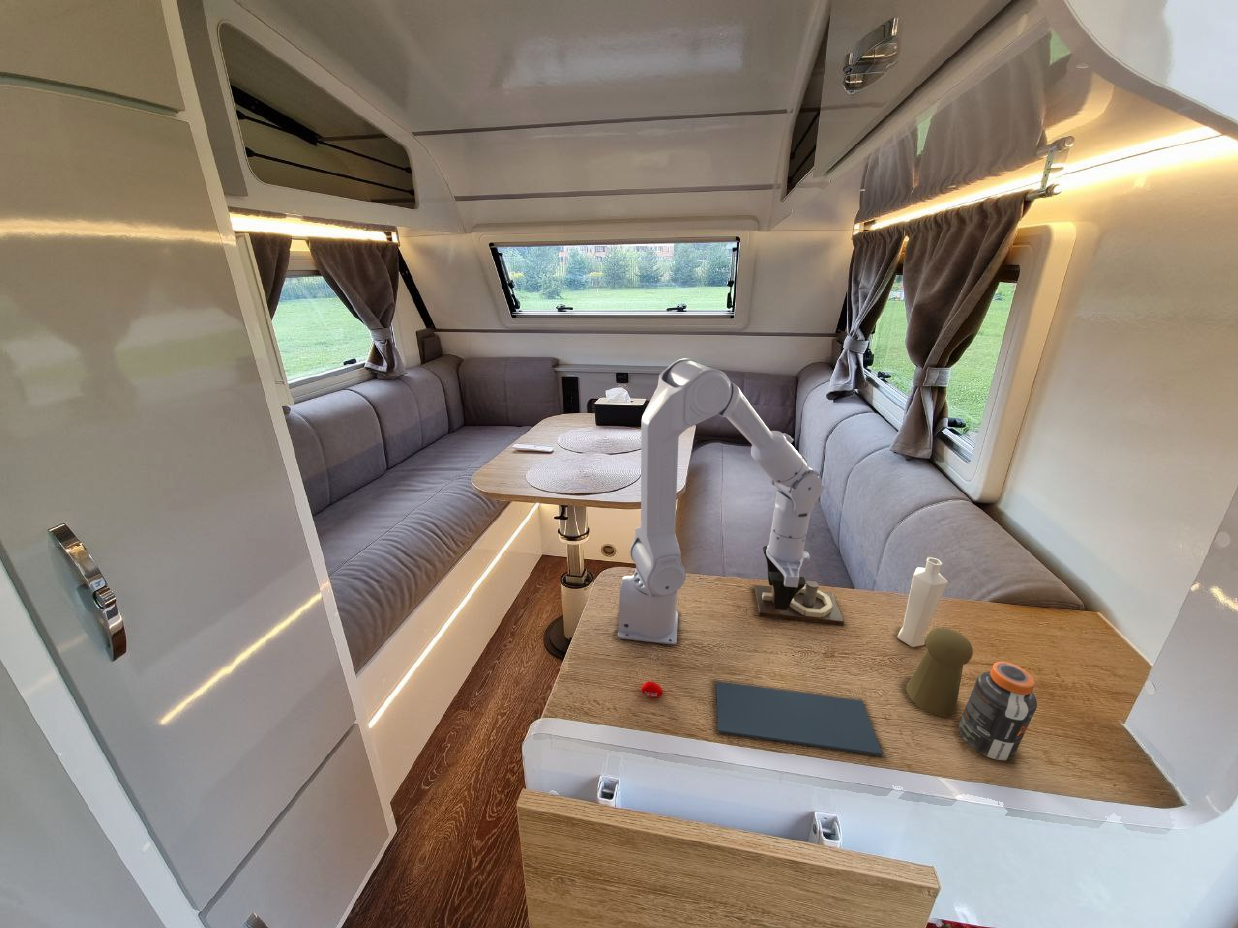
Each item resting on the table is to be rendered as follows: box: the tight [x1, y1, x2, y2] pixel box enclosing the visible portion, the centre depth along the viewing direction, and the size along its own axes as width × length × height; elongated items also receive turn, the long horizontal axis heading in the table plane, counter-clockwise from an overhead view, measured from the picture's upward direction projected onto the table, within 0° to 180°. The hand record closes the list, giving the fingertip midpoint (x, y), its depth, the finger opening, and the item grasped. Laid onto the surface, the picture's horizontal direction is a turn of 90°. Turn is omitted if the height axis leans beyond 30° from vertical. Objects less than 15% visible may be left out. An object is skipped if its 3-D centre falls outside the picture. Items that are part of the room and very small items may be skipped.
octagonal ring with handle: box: [762, 585, 833, 617], centre depth 84 cm, size 12×7×3 cm, turn 81°
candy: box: [641, 681, 664, 698], centre depth 66 cm, size 3×2×2 cm, turn 82°
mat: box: [715, 681, 884, 757], centre depth 63 cm, size 20×8×1 cm, turn 81°
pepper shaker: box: [905, 627, 974, 717], centre depth 65 cm, size 6×6×11 cm
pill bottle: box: [958, 661, 1038, 761], centre depth 59 cm, size 6×6×11 cm
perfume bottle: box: [897, 556, 949, 648], centre depth 75 cm, size 5×4×15 cm
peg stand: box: [753, 580, 845, 626], centre depth 84 cm, size 14×8×5 cm, turn 81°
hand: (777, 596), depth 85 cm, fingers open, 6 cm apart
